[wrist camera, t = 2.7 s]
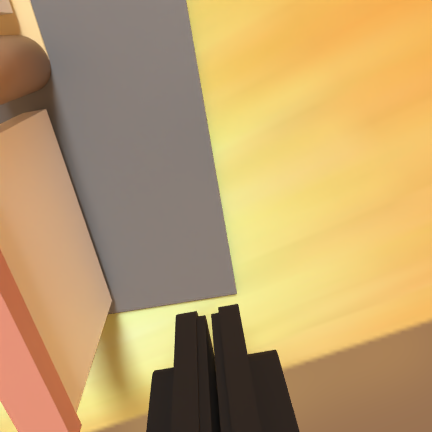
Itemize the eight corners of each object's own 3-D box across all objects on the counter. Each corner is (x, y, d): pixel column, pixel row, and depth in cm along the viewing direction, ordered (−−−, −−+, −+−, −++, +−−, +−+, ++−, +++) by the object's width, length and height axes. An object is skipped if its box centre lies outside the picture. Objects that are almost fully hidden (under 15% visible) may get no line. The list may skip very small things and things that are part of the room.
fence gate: (14, 111, 17) (-129, 176, 9) (52, 105, 16) (-63, 165, 9) (88, 305, 21) (30, 452, 14) (118, 301, 21) (75, 446, 14)
